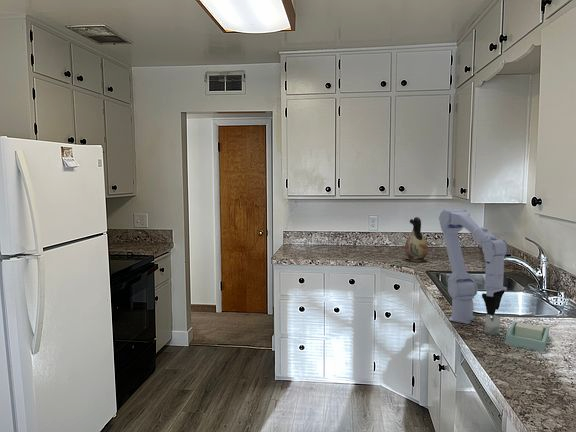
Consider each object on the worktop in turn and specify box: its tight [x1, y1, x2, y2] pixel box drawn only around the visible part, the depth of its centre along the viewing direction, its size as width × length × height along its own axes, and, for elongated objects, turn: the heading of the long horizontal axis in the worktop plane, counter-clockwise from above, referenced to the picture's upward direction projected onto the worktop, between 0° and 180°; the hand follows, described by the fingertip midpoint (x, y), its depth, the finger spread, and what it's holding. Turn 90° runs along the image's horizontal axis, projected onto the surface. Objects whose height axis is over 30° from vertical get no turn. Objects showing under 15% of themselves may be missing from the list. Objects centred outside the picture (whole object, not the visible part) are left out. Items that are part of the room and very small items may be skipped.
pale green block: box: [515, 321, 545, 341], centre depth 145 cm, size 5×8×4 cm, turn 54°
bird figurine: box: [404, 216, 429, 263], centre depth 281 cm, size 17×15×30 cm
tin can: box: [484, 314, 501, 336], centre depth 148 cm, size 5×5×7 cm
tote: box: [504, 320, 550, 352], centre depth 142 cm, size 16×11×4 cm
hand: (492, 311), depth 147 cm, fingers open, 7 cm apart
